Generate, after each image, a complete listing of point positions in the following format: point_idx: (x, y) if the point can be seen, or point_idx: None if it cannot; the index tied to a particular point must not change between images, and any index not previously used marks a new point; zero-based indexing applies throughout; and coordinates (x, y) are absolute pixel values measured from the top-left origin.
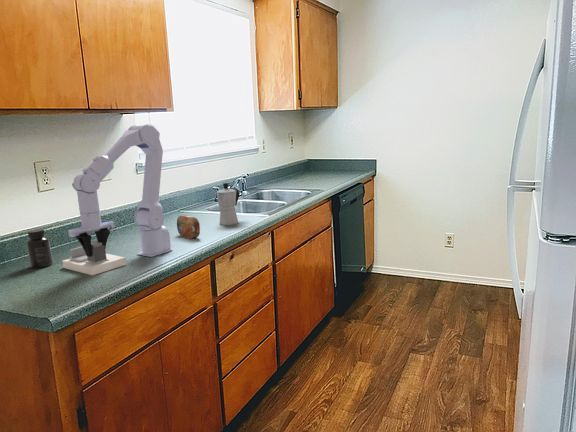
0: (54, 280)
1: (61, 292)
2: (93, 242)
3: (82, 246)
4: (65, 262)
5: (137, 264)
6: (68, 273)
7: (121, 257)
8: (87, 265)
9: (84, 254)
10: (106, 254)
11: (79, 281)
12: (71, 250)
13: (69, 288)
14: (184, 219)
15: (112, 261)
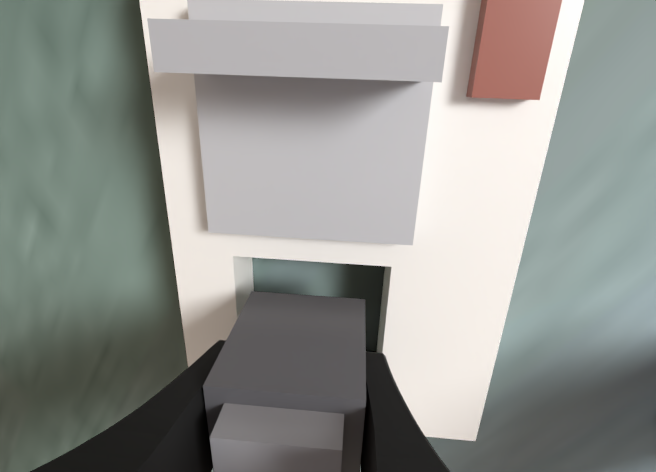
0: (19, 241)
1: (4, 438)
2: (291, 448)
3: (145, 405)
4: (147, 25)
5: (487, 449)
6: (137, 188)
7: (465, 416)
8: (206, 349)
9: (346, 79)
10: (505, 224)
11: (120, 391)
12: (159, 59)
13: (47, 428)
14: None
15: None
